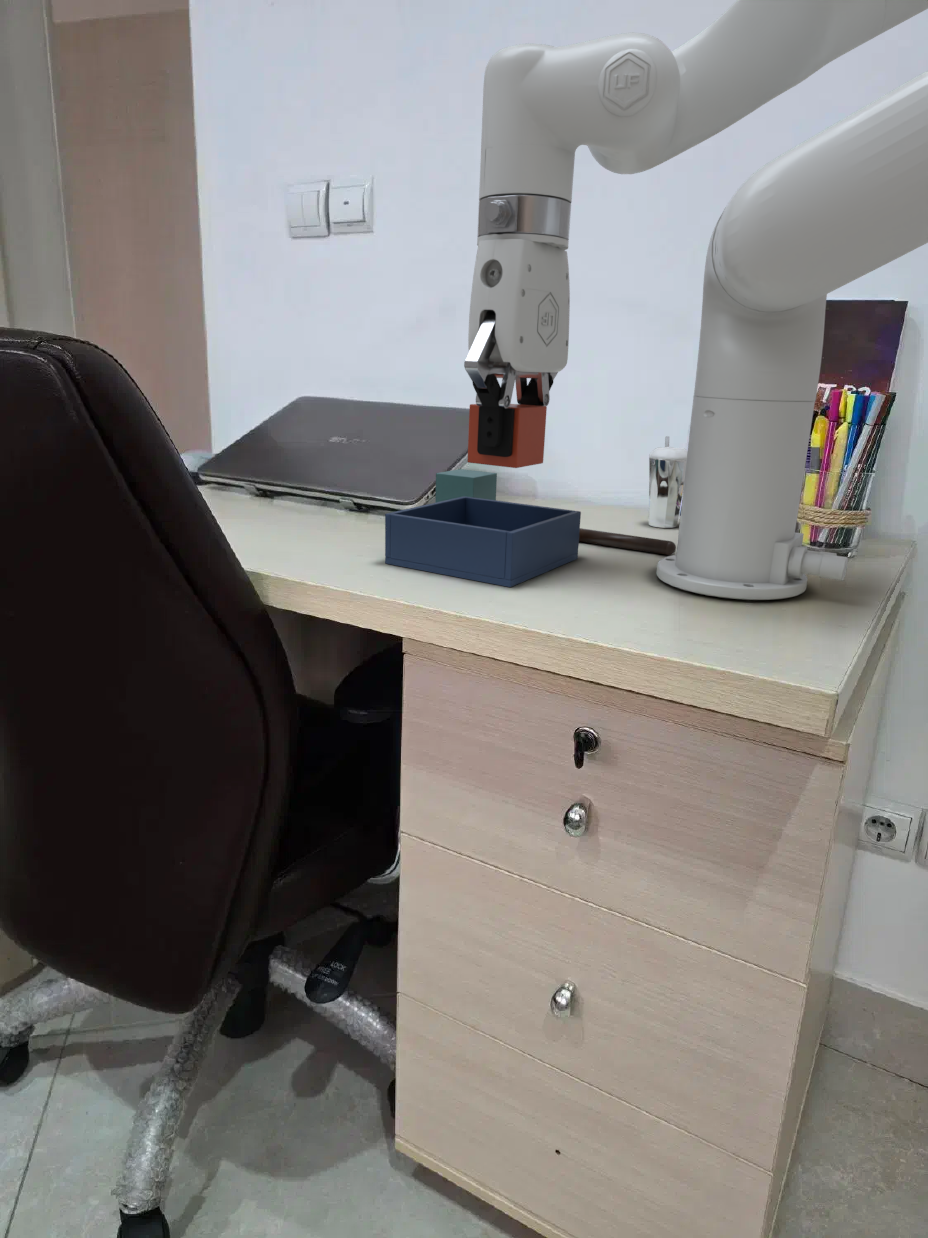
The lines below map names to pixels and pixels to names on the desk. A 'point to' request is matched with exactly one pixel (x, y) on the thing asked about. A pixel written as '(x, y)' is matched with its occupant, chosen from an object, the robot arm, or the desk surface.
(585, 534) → the dark brown dowel rod
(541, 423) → the block red
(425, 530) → the basket
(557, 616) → the desk surface
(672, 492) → the milkshake
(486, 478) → the block teal
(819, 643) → the desk surface
